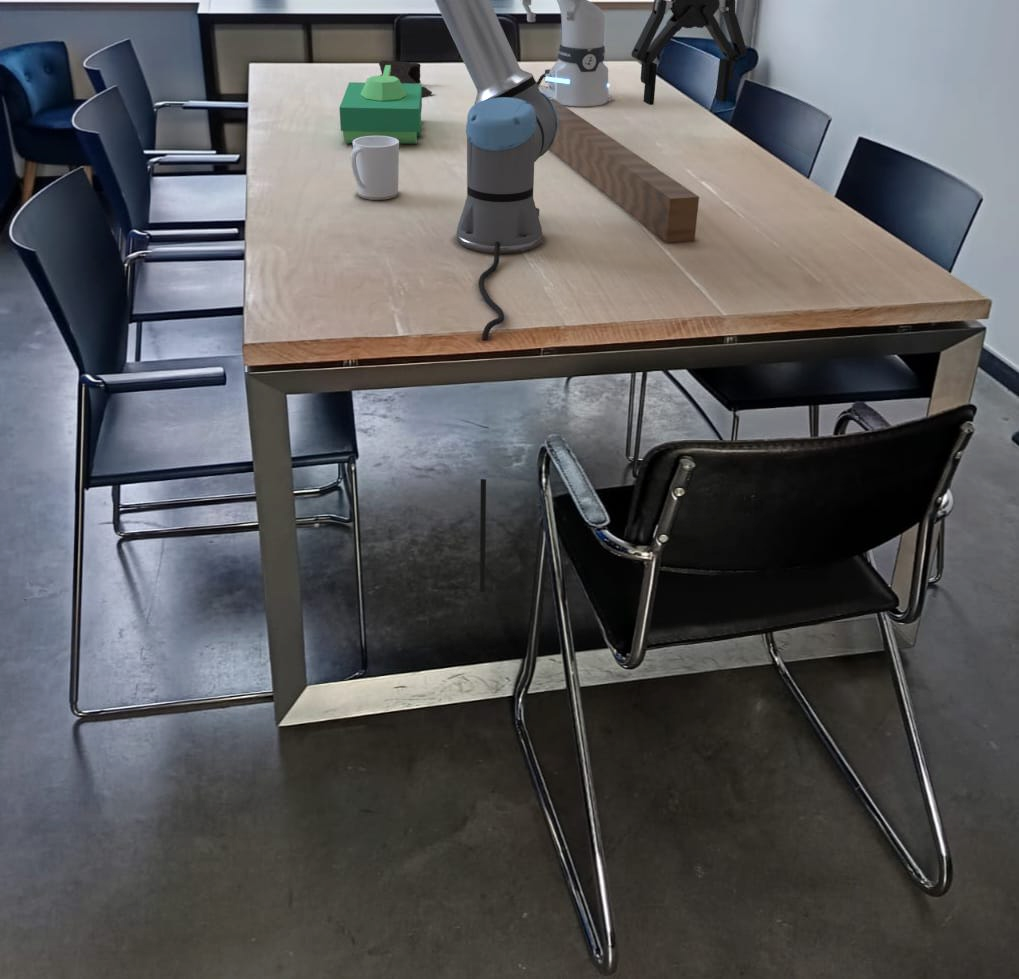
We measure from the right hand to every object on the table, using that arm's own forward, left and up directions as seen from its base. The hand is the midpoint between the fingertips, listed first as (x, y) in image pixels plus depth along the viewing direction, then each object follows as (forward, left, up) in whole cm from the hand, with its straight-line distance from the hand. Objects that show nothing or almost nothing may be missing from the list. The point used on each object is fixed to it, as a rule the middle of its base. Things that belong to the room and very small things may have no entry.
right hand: (551, 20), depth 246 cm
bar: (+36, 0, -26) cm, 44 cm away
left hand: (+72, 0, -2) cm, 72 cm away
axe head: (-58, -22, -26) cm, 67 cm away
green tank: (-17, -36, -26) cm, 47 cm away
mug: (+36, -48, -26) cm, 66 cm away
